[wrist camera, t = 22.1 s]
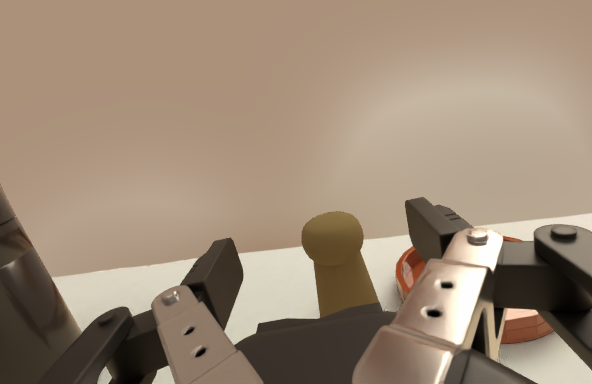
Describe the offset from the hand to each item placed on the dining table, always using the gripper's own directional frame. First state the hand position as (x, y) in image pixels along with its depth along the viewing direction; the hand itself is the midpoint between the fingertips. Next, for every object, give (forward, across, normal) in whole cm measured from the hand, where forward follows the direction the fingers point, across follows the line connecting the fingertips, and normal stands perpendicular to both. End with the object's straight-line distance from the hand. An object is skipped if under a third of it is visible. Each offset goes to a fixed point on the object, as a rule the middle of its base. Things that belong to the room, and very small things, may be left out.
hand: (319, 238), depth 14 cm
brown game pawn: (+11, 0, +15) cm, 18 cm away
